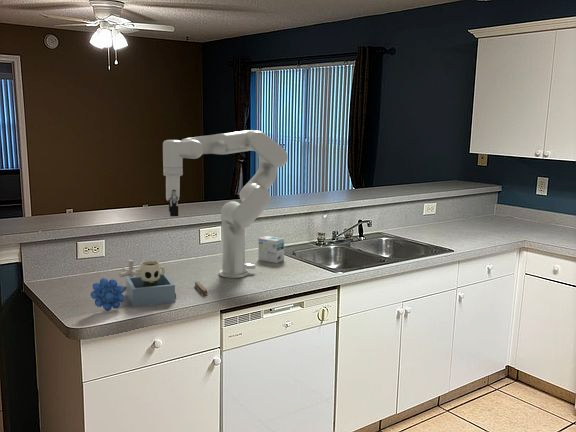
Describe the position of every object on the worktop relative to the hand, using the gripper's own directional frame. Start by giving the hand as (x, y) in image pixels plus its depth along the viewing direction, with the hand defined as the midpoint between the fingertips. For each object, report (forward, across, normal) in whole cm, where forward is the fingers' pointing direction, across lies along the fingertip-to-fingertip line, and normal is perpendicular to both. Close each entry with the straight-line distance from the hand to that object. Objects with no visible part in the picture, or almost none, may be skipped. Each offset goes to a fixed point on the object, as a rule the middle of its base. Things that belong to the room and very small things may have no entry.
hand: (173, 213), depth 231 cm
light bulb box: (+29, -26, +46) cm, 60 cm away
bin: (+28, +19, -10) cm, 35 cm away
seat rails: (+28, +15, +4) cm, 32 cm away
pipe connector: (+28, +1, -17) cm, 33 cm away
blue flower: (+28, +31, -24) cm, 48 cm away
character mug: (+28, +19, -10) cm, 35 cm away
